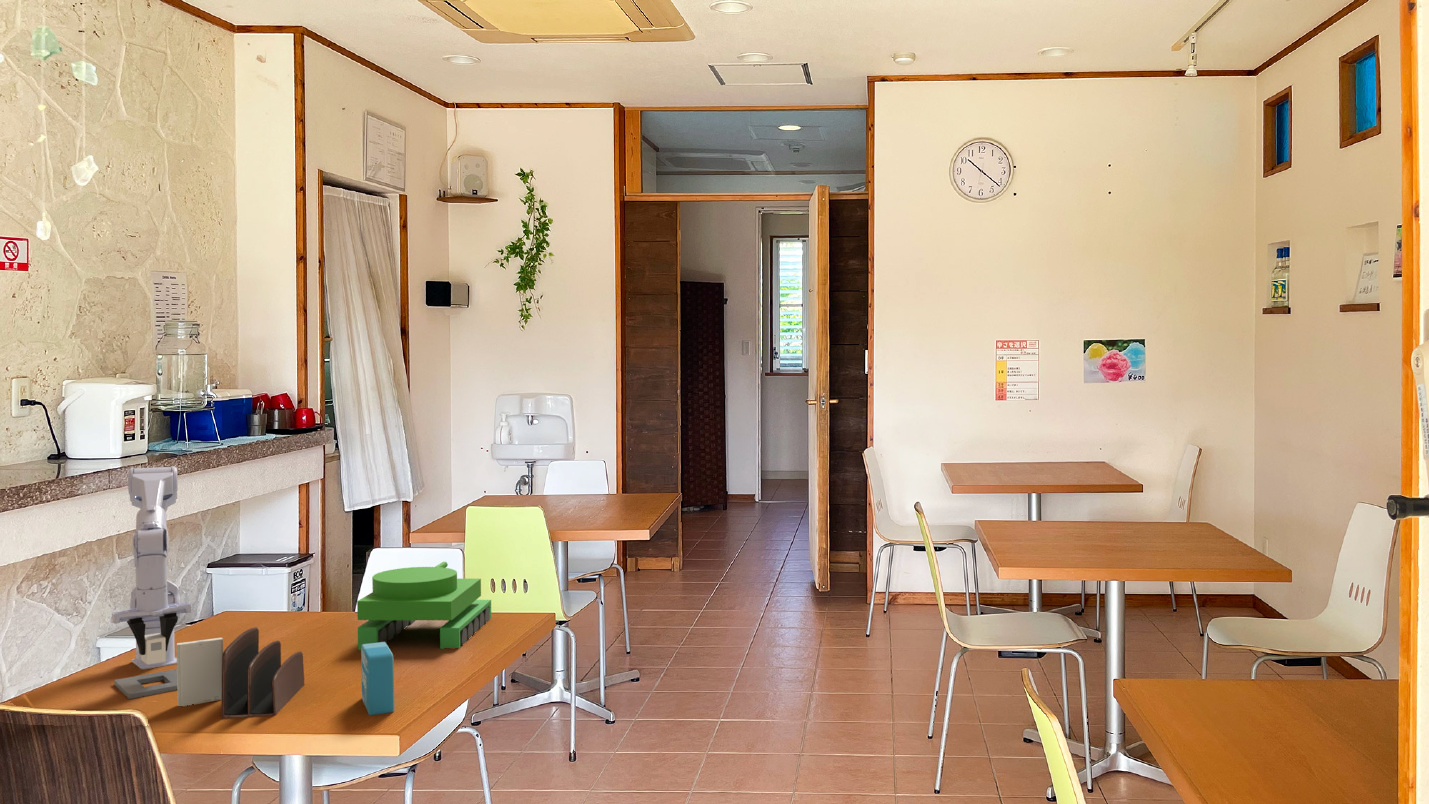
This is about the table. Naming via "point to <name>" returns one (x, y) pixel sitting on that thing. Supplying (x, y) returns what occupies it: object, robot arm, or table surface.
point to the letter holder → (258, 677)
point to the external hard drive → (199, 671)
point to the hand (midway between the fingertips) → (153, 652)
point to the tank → (422, 604)
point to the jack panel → (135, 689)
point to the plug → (154, 649)
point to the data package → (377, 678)
